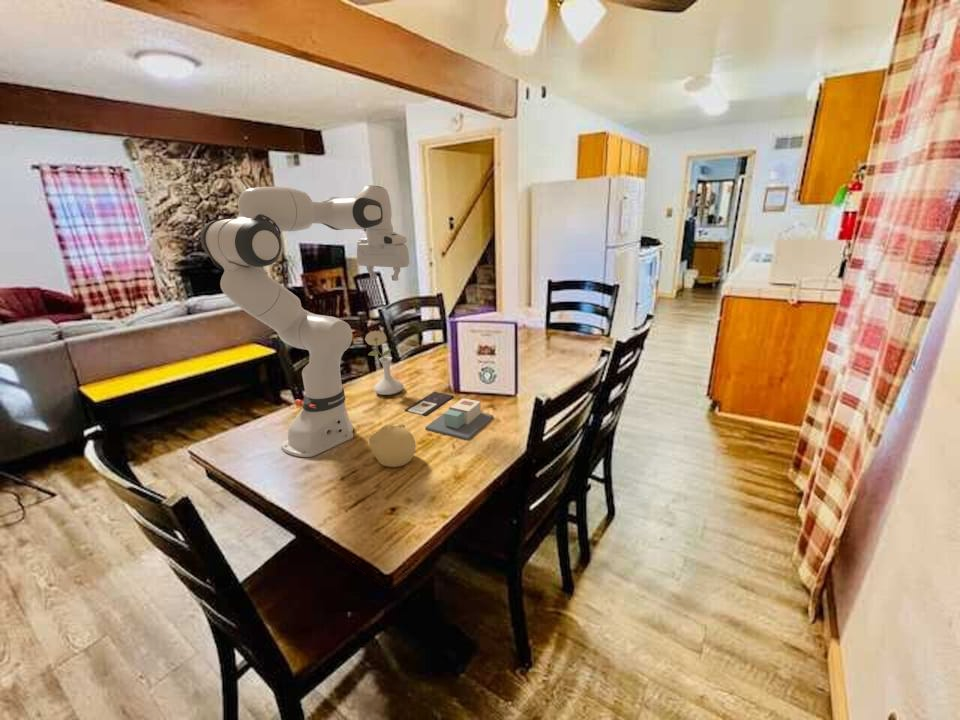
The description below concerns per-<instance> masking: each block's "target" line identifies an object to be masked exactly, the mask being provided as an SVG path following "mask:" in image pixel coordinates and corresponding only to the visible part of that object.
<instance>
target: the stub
mask: <svg viewBox="0 0 960 720" xmlns="http://www.w3.org/2000/svg"><path fill="white" fill-rule="evenodd" d="M449 408H450V407H449ZM449 408H448V410H446V411H444V413H443V414H444V421H445V426H448V427H452V428H456V429H458V428H460V427H461V426H462V425H463V424H464V411H461V410H456V409H452V408H450V409H449Z"/></svg>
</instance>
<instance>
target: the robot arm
mask: <svg viewBox="0 0 960 720" xmlns="http://www.w3.org/2000/svg"><path fill="white" fill-rule="evenodd" d="M237 208H238V215H237V216H236V218H218V219H215V220H211V221H210V222H208V223H207V224H205V225H204V226H203V228H202V230H201V232H200V243H201V246H202V248H203V249H204V251H205V253H206V255H208V257H209V258H210V259H211V261H212V263H213V265H214V266H215V268H217V269H220V270H223V274H222V275H221V279H220V282H219V285H220V289H221V291H222V293H223V294H224V295H225V296H226V297H227V298H228V299H229V300H230V301H231V302H233V304H234V305H236V306H237V307H238V308H240V309H241V310H243V311H244V312H246V313H247V314H248V315H250V316H252V317H253V318H255V319H256V320H258V321H259V322H261V323H262V324H264V325H266V326H268V327H269V328H270V329H272V330H273V331H275V332H276V333H277V335H278V337H279V339H280V340H281V341H282V342H283V343H285V344H287V345H289V346H290V347H293V348H296V349H300V350H306V351H308V353H309V360H308V361H309V362H308V364H306V365H305V367H303V369H302V370H301V376H302V382H303V383H302V384H303V388H304V396H303V400H302V399H299V398H297V399H295V401H294V406H295V405H296V406H297V407H302V409H301V410H300V411H299V412H298V414H297V416H296V417H295V418H294V420H293V421H292V422H291V423H290V425H289V426H288V429H287V439H286V440H284V441H283V442H282V443H281V444H280V447H281V448H280V449H282V451H283V452H285V453H286V454H289V455H292V456H295V457H300V458H313V457H314V456H316V455H319V454H321V453H323V452H325V451H327V450H329V449H332V448H334V447H336V446H338V445H340V444H343V443H345V442H346V441H349V440H351V439H353V437H354V433H353V431H354V426H353V423H352V421H351V419H350V417H349V414H348V410H347V407H346V402H345V401H346V394H345V390H344V388H343V385H342V376H341V374H342V373H341V360H342V357H343V355H344V353H345V351H347V350H348V349H349V347H350V346H351V344H352V341H353V330H352V328H351V326H350V324H349V323H348V322H346V321H344V320H342V319H340V318H338V317H335V316H330V315H322V314H316V313H313V312H311V311H308V310H306V309H304V308H303V306H302V303H301V299H300V298H299V297H298V296H297V295H296V294H294V293H293V292H292V291H290V290H289V289H287V287H285V286H283V285H282V284H280V283H279V281H277V280H275V279H274V278H273V277H271V276H270V275H268V274H267V273H266V272H265V270H264V269H263V267H267V266H271V265H273V264H274V263H276V262H277V261H278V259H279V258H280V256H281V252H282V238H281V237H282V236H281V232H297V231H303V230H307V229H309V228H311V226H312V225H313V224H319V225H320V224H322V225H323V226H326V227H328V228H330V229H331V230H335V231H343V230H365V234H366V237H365V238H364V237H360V238H359V239H358V240H357V241H356V263H357V264H358V266H361V267H366V271H367V272H368V274H369V278H370V280H377V279H378V278H377V277H378V276H377V274H378V273H375V271H374V268H375V267H380V268H381V267H383V268H384V267H385V268H392V269H393V274H392V275H391V281H393V282H397V281H399V274H400V272H401V269H402V268H406V267H407V268H408V266H409V265H410V254H409V248H408V246H407V245H406V244H407V236H404V235H402V234H400V233H397V232H395V231H394V229H393V228H394V227H393V224H392V215H393V214H392V205H391V199H390V195H389V192H388V190H387V189H386V188H385V187H383V186H380V185H365V186H364V187H363V189H362V190H361V192H359V193H358V194H356V195H354V196H347V197H340V196H339V197H336V196H333V197H329V198H326V199H325V200H323V201H320V202H319V201H313V200H312V198H311V197H310V196H309V194H308V193H307V192H305V191H302V190H299V189H295V188H292V187H282V186H257V187H251V188H246V189H245V190H243V191H242V192H241V194H240V195H239V197H238V201H237Z"/></svg>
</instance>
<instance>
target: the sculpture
mask: <svg viewBox="0 0 960 720" xmlns="http://www.w3.org/2000/svg"><path fill="white" fill-rule="evenodd" d="M368 442H369V444H370V445H369V447H370V451H371V452H372V453H373V455H374V457H375V458H376V460H377V462H379V463H380V465H382V466H385V467H389V468H398V467H402V466H405V465H407V464H408V463H409V462H411V460H412V459H413V457H414V456H415V452H416V445H417V444H416V440H415V438H414V435H413V434H412V432H410V430H409V429H408V428H406V426H405V424H404V423H396V424H395V423H394V424H385V425H384V426H382V427H381V428H380V429H379V430H378V431H376V432H374V433H373V434H371V435H370V437H369V438H368Z"/></svg>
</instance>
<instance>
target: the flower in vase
mask: <svg viewBox="0 0 960 720" xmlns="http://www.w3.org/2000/svg"><path fill="white" fill-rule="evenodd" d="M364 340H365V342H366V343H367V345H370V346H374V347H376V350H377V351H376V350H371V351H370V352H369V353H368V354H367V356H373V357H376V356H378V355H380V356H381V357H380V358H379V359H378V361H380V363H381V365H382V368H383V372H384V373H383V377H382V378H381V379H380V380H379V381H378V382H377V383H376V384H375V386H374V387H373V392H375V393H376V394H377V395H384V396H387V395H389V396H390V395H395V394H397V393H399V392H401V391H402V390H403V388H404V385H403V383H402V382H401V380H398V379H396V378H395V377H393V376H392V375H391V367H390V366H391V363H392V362H391V361H392V360H393V357H391V356H387V355H389V354H390V353H391V352H392V348H390V349H388V350H385V351H384V352H383V354H382V353H380V351H379V346H380V345H383V344H385V343H386V341H387V335H386V334H385V333H384V332H383V331H380V330H374V331H373V330H371V331H370V332H368V333H367V334H366V335H365V338H364Z"/></svg>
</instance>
